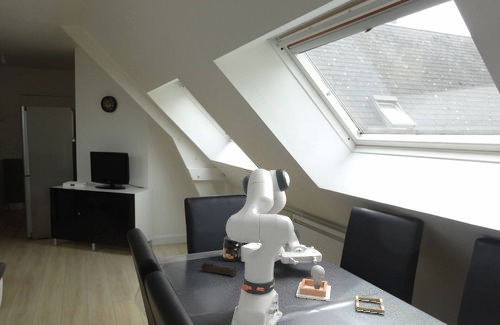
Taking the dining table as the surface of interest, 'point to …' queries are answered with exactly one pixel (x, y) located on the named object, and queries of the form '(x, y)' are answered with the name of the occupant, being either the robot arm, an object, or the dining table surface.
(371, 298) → the square wooden frame
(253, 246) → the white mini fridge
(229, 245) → the supplement container
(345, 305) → the dining table surface
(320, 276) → the lightbulb
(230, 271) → the hand tool
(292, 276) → the dining table surface
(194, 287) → the dining table surface
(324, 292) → the socket
